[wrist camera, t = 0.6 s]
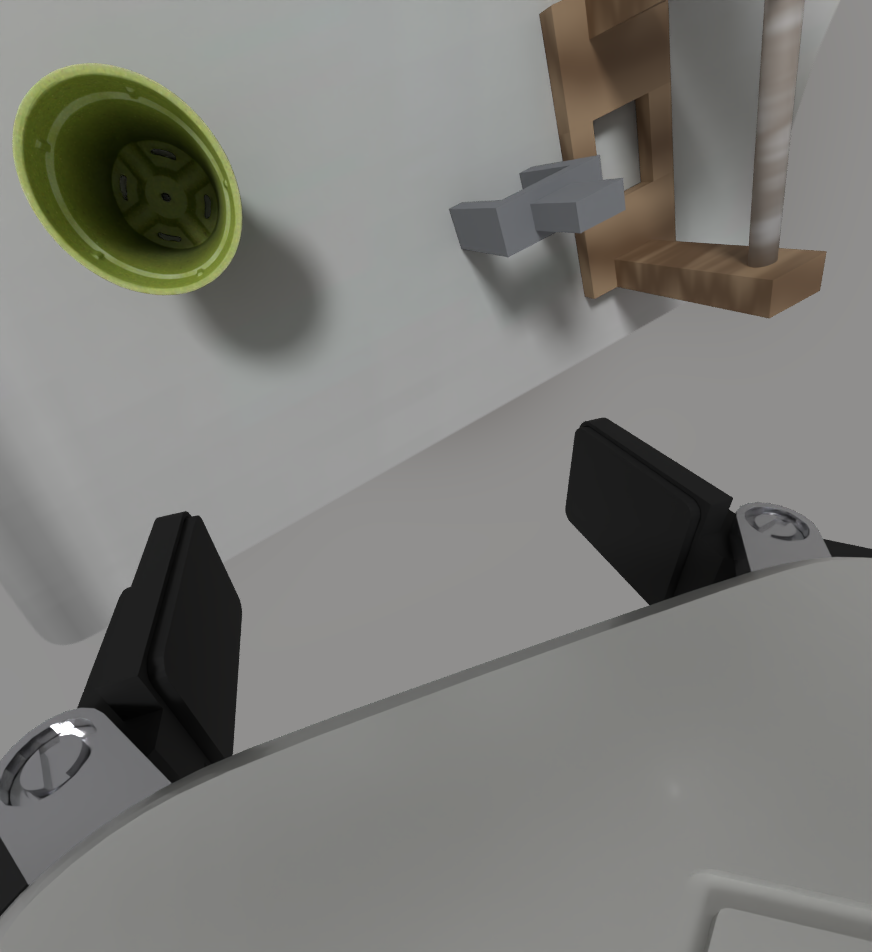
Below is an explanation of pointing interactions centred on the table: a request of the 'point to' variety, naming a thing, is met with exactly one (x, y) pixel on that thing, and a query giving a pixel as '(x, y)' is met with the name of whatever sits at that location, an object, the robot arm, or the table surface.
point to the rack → (652, 201)
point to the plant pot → (148, 176)
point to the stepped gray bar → (540, 207)
